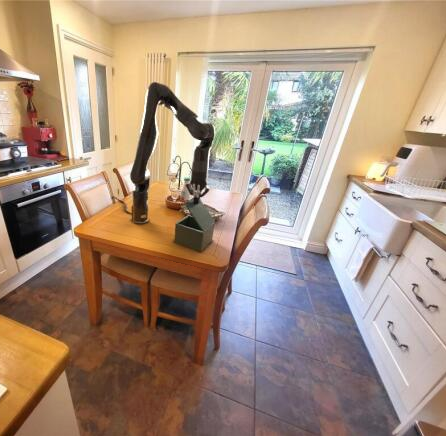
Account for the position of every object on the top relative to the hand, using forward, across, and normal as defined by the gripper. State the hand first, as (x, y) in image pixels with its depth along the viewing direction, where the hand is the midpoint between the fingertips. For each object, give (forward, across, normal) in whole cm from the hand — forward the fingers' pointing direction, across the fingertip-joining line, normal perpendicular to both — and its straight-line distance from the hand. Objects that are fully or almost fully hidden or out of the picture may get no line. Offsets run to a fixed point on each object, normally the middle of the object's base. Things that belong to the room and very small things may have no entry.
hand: (196, 204), depth 116 cm
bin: (+21, -1, 0) cm, 21 cm away
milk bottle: (+21, +29, -44) cm, 57 cm away
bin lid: (+4, -2, 0) cm, 5 cm away
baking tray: (+21, +11, -33) cm, 41 cm away
